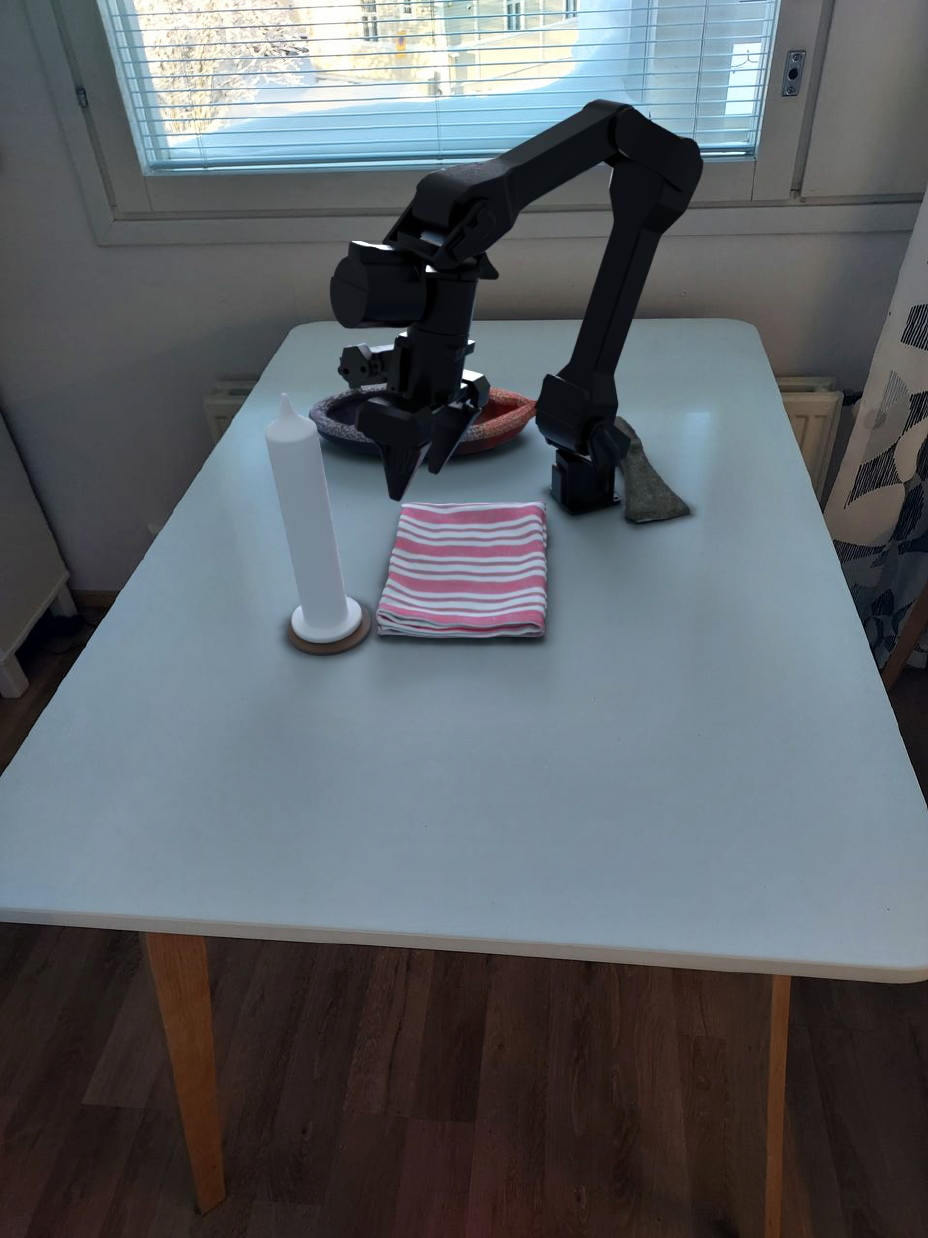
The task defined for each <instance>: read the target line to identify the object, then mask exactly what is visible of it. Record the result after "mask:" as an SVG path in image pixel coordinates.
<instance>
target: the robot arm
mask: <svg viewBox="0 0 928 1238" xmlns="http://www.w3.org/2000/svg"><path fill="white" fill-rule="evenodd" d="M704 162H705V161H704V159H703V158H702V155H701V149H700V146H699V144H698V142H697V141H696V140H694V139H693V138H692V137H687V136H682V135H678V134H676V133H673V132H672V131H670V130H668V129H667V128H665V127H663V126H661V125H660V124H658V123H656V122H654V121H653V120H651V119H649V118H648V117H646V115H644V114H643V113H642V112H640V110H638V109H637V108H635V107H634V106H633V104H629V103H624V102H619V101H614V100H609V99H602V98H598V99H594V100H592V101H588V102H587V103H586V104H585V105H584V106H583V107H582V109H581V110H580V111H577V112H576V113H574V114H572V115H571V116H569V117H567V118H564V119H563V120H562V121H560V122H558V123H556V124H554V125H552V126H551V127H549V128H547V129H545V130H543V131H541V132H540V133H538V134H536V135H534V136H532V137H531V138H529V139H527V140H525V141H524V142H521V143H520V144H518V145H516V146H515V147H513V148H510V149H509V150H507V151H505V152H504V153H502V154H500V155H498V156H496V157H494V158H490V159H487V160H482V161H481V160H480V161H473V162H465V163H458V164H455V165H451V166H448V167H444V168H441V169H438V170H435V171H432V172H429V173H428V174H426V175H425V176H424V177H423V178H421V179H420V181H419V182H417V185H416V186H415V193H414V196H413V198H412V200H411V201H410V202H409V203H408V205H407V206H406V208H405V209H404V210H403V212H402V213H401V215H400V216H399V218H398V219H397V220H396V222H395V223H394V224H393V225H392V227H391V228H390V230H389V231H388V233H387V234H386V235H385V237H384V238H383V239H382V241H381V242H382V243H381V244H370V243H367V242H364V241H359V240H351V241H350V242H349V243H348V247H347V248H348V250H347V255H346V256H345V257H342V259H341V260H340V261H339V262H338V263H337V266H336V267H335V269H334V273H333V276H331V277H330V282H329V298H330V299H329V300H330V305H331V310H332V312H333V315H334V317H335V319H336V321H337V322H338V323H339V324H340V325H341V327H343V328H344V329H348V330H367V329H368V330H371V329H372V330H373V329H374V330H375V329H377V330H379V329H382V330H383V329H384V330H385V329H406V331H404V332H402V333H399V334H397V336H396V337H395V338H394V342H393V344H385V345H377V346H370V347H369V345H368V344H367V343H365V342H362V343H360V344H356V345H355V344H350V345H347V346H343V348H342V353H341V356H339V366H337V373H338V375H339V376H341V378H342V380H344V381H345V382H346V383H347V384H348V390H349V389H358V388H360V387H368V386H378V385H383V384H385V385H387V386H386V390H387V391H391V392H394V393H399V392H400V393H403V394H404V397H405V398H407V399H405V398H401V397H398V396H394V395H391V394H388V393H382V394H380V395H377V396H375V397H373V398H371V399H369V400H367V401H365V402H364V403H363V404H361V405H360V406H358V407H357V409H356V418H355V427H354V428H355V429H356V430H357V431H359V432H362V434H363V435H364V437H366V438H368V439H371V440H372V441H373V442H374V443H375V444H376V445H377V447H378V448H379V450H380V454H381V455H380V458H381V461H382V465H383V471H384V477H385V481H386V486H387V492H388V497H389V499H390V500H392V501H395V502H397V503H399V502H401V501H402V500H403V498H404V496H405V494H406V493H407V491H408V489H409V487H410V485H411V484H412V482H413V480H414V478H415V476H416V474H417V472H418V470H419V468H420V467H421V464H422V462H423V461H424V458H426V457H425V455H426V453H427V451H428V457H427V471H428V472H429V474H433V475H436V476H437V475H439V474H440V473H441V472H442V470H443V469H444V467H445V465H446V464H447V463H448V461H449V459H450V457H452V456H451V454H452V453H453V451H454V450H455V448H456V447H457V445H458V444H459V442H460V441H461V439H462V438H463V436H464V435H465V433H466V432H467V431H468V429H469V428H470V426H471V425H472V423H473V422H474V420H475V419H476V417H477V416H478V415H479V414H480V413H481V411H482V409H481V407H482V406H484V405H486V404H487V403H488V399H489V393H490V388H491V387H492V386H491V384H490V382H489V381H488V379H487V377H486V376H485V374H483V373H479V372H476V371H473V370H468V369H465V365H466V359H467V356H469V355H471V354H473V353H474V352H475V347H476V340H470V336H471V330H472V324H473V316H474V313H475V312H474V311H475V305H476V299H477V294H478V289H479V282H480V281H481V280H483V281H497V280H498V279H499V277H500V273H499V271H498V269H497V268H496V266H494V265H493V263H492V262H491V261H490V259H489V256H488V253H487V251H488V250H490V249H491V248H492V247H493V246H494V245H495V244H496V243H498V242H499V241H500V240H501V239H502V238H503V237H505V236H506V235H507V234H508V233H510V232H511V230H512V229H513V228H514V226H515V224H516V222H517V219H518V217H519V215H520V213H521V212H523V210H525V208H527V207H529V205H531V204H533V203H534V202H536V201H538V200H540V199H541V198H543V197H545V196H546V195H548V194H550V193H552V192H553V191H555V190H557V189H558V188H560V187H562V186H564V185H565V184H567V183H569V182H570V181H572V180H574V179H576V178H578V177H579V176H581V175H582V174H584V173H585V172H587V171H589V170H591V169H593V168H594V167H596V166H597V165H599V164H601V163H603V164H604V165H605V166H607V167H608V168H609V169H610V170H611V176H610V180H609V186H608V194H609V200H610V207H611V213H612V219H613V221H612V228H611V230H610V234H609V236H608V239H607V241H606V246H605V249H604V252H603V255H602V258H601V262H600V265H599V267H598V271H597V273H596V277H595V281H594V284H593V287H592V291H591V293H590V297H589V299H588V302H587V306H586V309H585V312H584V315H583V319H582V321H581V324H580V328H579V331H578V334H577V337H576V340H575V343H574V347H573V350H572V353H571V356H570V359H569V361H568V363H566V364H565V366H563V367H562V368H560V370H559V371H558V372H556V374H552V373H550V372H547V373H546V375H545V376H544V378H543V379H542V384H541V389H540V393H539V396H538V398H537V399H536V400H537V402H536V404H535V405H534V408H535V409H537V412H536V416H535V417H534V420H535V421H534V424H535V425H536V427H537V430H538V432H539V433H540V434H541V435H542V436H543V438H544V440H545V443H546V444H547V445H549V446H552V447H554V448H556V449H555V462H554V463H552V465H551V484H550V485H549V486H548V490H549V492H550V493H551V495H552V496H553V497H554V498H555V500H557V501H558V503H559V504H561V505H562V506H563V508H564V509H565V510H566V511H567V512H568V514H570V515H571V516H577V515H581V514H584V513H587V512H591V511H595V510H598V509H603V508H607V507H610V506H614V505H618V504H620V503H621V502H622V499H621V496H620V495H619V494H618V493H617V492H616V491H615V484H616V467H618V466H620V465H619V461H620V460H621V459H623V458H625V457H626V456H627V453H628V450H629V447H630V444H631V438H629V437H628V436H627V435H626V434H624V433H623V432H622V431H621V430H620V429H618V428H617V427H616V426H615V425H614V423H615V419H616V416H617V414H618V409H619V399H618V398H619V397H618V391H617V386H616V379H615V373H616V370H617V367H618V364H619V361H620V358H621V355H622V352H623V349H624V347H625V344H626V341H627V337H628V334H629V331H630V329H631V326H632V323H633V320H634V317H635V313H636V311H637V308H638V305H639V302H640V299H641V297H642V294H643V291H644V288H645V284H646V281H647V279H648V275H649V272H650V270H651V267H652V264H653V260H654V258H655V255H656V253H657V249H658V246H659V243H660V241H661V238H662V236H663V235H664V234H665V233H666V232H667V231H668V230H669V229H670V228H671V227H672V226H673V225H674V224H675V223H676V222H677V221H678V220H679V219H680V218H681V217H682V216H683V215H684V214H685V213H686V211H687V209H688V207H689V205H690V202H691V201H692V198H693V196H694V194H695V192H696V190H697V188H698V185H699V183H700V180H701V178H702V174H703V170H704V164H705V163H704ZM422 238H423V239H422ZM470 399H472V403H473V405H470V404H469V403H470Z"/></svg>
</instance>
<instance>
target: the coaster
mask: <svg viewBox="0 0 928 1238" xmlns="http://www.w3.org/2000/svg"><path fill="white" fill-rule="evenodd" d="M357 603H358V604H359V606H360V608H361V612H362V620H361V623H360V625H359V627H358V628H357V629H356V630H355V631H354V632H353V633H352V634H350V635H349V636H347V637H345V638H343V639H341V640H338V641H335V642H330V643H313V642H309V641H306V640H304V639H302V638H300V637H299V636H298V635H297V634H296V633H295V632H294V630H293V627H292V622H291V620H292V618H291V619H290V620H289V622H288V625H287V626H288V627H287V635H288V638H289V641H290V642H291V644H292V645H293V646H294V647H295V648H296V649H298V650H299V651H302V652H303V653H306V654H310V655H315V656H331V655H337V654H341V653H344V652H347V651H349V650H351V649H353V648H355V647H357V646H359V644H362V642H363V641H364V640H365V639H366V638H367V637H368V635H369V634H370V631H371V630H372V629H371V628H372V617H371V614H370V612H369V611H368V609H367V608H366V607H364V605H362V604H361V603H359V602H357Z"/></svg>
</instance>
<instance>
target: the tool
mask: <svg viewBox="0 0 928 1238" xmlns="http://www.w3.org/2000/svg"><path fill="white" fill-rule="evenodd" d="M614 425H615V426H616V427H617V428H618V429H620V430H621V431H622V432H623V433H624V434H626V435H627V436H628V437H629V438H631V444H630V447H629V450H628V453H627V456H626V457H625V458H623V459H621V460H620V461H619V465H618V466H620V467H621V468H622V469H621V470H622V472H623V477H624V487H625V489H624V490H625V507H624V508H625V509H624V513H625V517H626V519H627V520H632V522H633V523H644V522H650V521H658V520H668V519H673V518H677V517H681V516H684V515H688V514H691V508H690V507H689V506H688V504H687V503H685V501H684V500H683V499H682V497H680V496H679V495H678V494H677V493H676V492H675V491H673V490H672V488H671V487H670V486H669V485H667V483H665V481H664V479H662V477H661V476H660V474H659V473H658V472H657V471H656V469H654V467H653V466H652V464H651V463H650V461H649V459H648V457H647V455H646V453H645V451H644V446H643V442H642V440H641V438H640V437H639V435H638V434H637V432H636V430H635V429H634V428H633V427H632V425H631V424H630V423H629V422H627V420H626V419H624V418H623V417H622V416H620V415H616V419H615V423H614Z"/></svg>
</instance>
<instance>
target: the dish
mask: <svg viewBox="0 0 928 1238" xmlns="http://www.w3.org/2000/svg"><path fill="white" fill-rule="evenodd" d="M386 386H387V384H385V385H371V386H361V387H360V388H358V389H349V388H348V389H347V390H344V391H341V392H338V393H335V394H332V395H330V396H327V397H325V398H323V399H321V400H318V401H317V402H316V403H315V404H314V405H312V407H311V408H310V410H309V411H308V418H309V419H311V420H312V421H313V422H315V424H316V426H317V431H318V435H319V436H321V437H322V438H324V439H325V440H326V441H327V442H329V443H330V444H332V445H334V446H336V447H339V448H341V449H345V450H348V451H351V452H355V453H360V454H366V455H373V456H381V454H380V450H379V448H378V447H377V445H376V444H375V443H374V442H373V441H372V440H371V439H368V438H366V437H364V435H363V434H362V432H359V431H357V430H356V429H355V428H354V427H355V418H356V409H357V407H358V406H360V405H361V404H363V403H364V402H365V401H367V400H369V399H371V398H373V397H375V396H377V395H380V394H382V393H388V394H391V395H394V396H398V397H401V398H405V397H404V394H403V393H400V392H399V393H394V392H391V391H387V390H386ZM405 399H407V398H405ZM537 400H538V399H532V398H529V397H527V396H524V395H523V394H522V393H521V394H520V393H518V392H515V391H511V390H507V389H503V388H499V387H495V386H491V388H490V393H489V399H488V403H487V404H486V405H484V406H482V407H481V409H482V411H481V413H480V414H479V415H478V416H477V417H476V419H475V420H474V422H473V423H472V425H471V426H470V428H469V429H468V431H467V432H466V433H465V435H464V436H463V438H462V439H461V441H460V442H459V444H458V445H457V447H456V448H455V450H454V451H453V453H452V454H451V456H450V457H455V456H462V455H469V454H474V453H480V452H483V451H486V450H487V451H488V450H491V449H493V448H496V447H497V446H500V445H502V444H504V443H507V442H510V441H512V440H514V439H515V438H516V437H517V436H518V435H519V434H520V433H521V432H522V431H523V430H524V429H525V427H526V426H527V425H528V423H529V422H530V421H531V420H532V419H533V418H535V417H536V412H537V409H535V408H534V405H535V404H536V402H537ZM469 404H470V405H473V403H472V399H470V403H469ZM424 458H428V451H427V453H426V455H425V457H424Z"/></svg>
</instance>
